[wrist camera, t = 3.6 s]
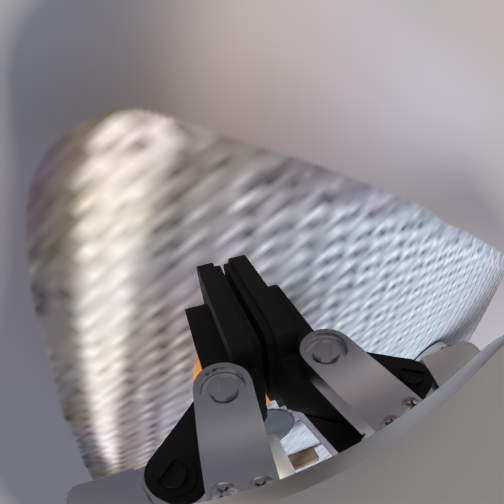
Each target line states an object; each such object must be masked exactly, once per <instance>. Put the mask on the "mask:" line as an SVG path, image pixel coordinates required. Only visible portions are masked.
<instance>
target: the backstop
mask: <svg viewBox="0 0 504 504" xmlns="http://www.w3.org/2000/svg"><path fill="white" fill-rule="evenodd" d="M288 458H289V460H290V462H291V464H292V466H293V468H294V470H297V469H299V468H302V467H304V466H307V465H309V464H311V463H314V462H316V461H318V460H319V456H318V455H317V453H316V451H315V450H314V448H313V447H311V448H308V449H306V450H303V451H301V452H298V453H296V454H293V455H291V456H288Z"/></svg>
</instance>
